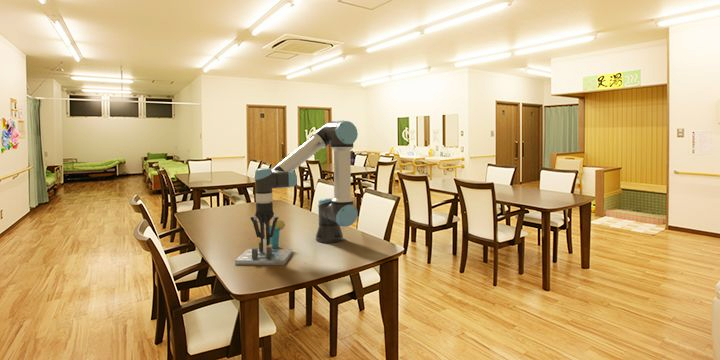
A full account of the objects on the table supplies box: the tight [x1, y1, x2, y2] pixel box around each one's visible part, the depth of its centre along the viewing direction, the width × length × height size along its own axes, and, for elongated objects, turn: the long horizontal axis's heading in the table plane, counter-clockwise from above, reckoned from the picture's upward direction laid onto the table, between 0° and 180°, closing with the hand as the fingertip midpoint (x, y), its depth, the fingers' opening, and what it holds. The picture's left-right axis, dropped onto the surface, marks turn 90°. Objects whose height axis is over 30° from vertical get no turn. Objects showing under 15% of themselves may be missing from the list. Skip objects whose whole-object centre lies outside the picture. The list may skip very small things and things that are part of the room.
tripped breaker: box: [266, 245, 272, 255], centre depth 186 cm, size 2×2×4 cm
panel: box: [234, 241, 293, 266], centre depth 186 cm, size 22×18×6 cm
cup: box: [257, 219, 286, 249], centre depth 204 cm, size 14×8×15 cm, turn 112°
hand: (265, 251), depth 186 cm, fingers closed
